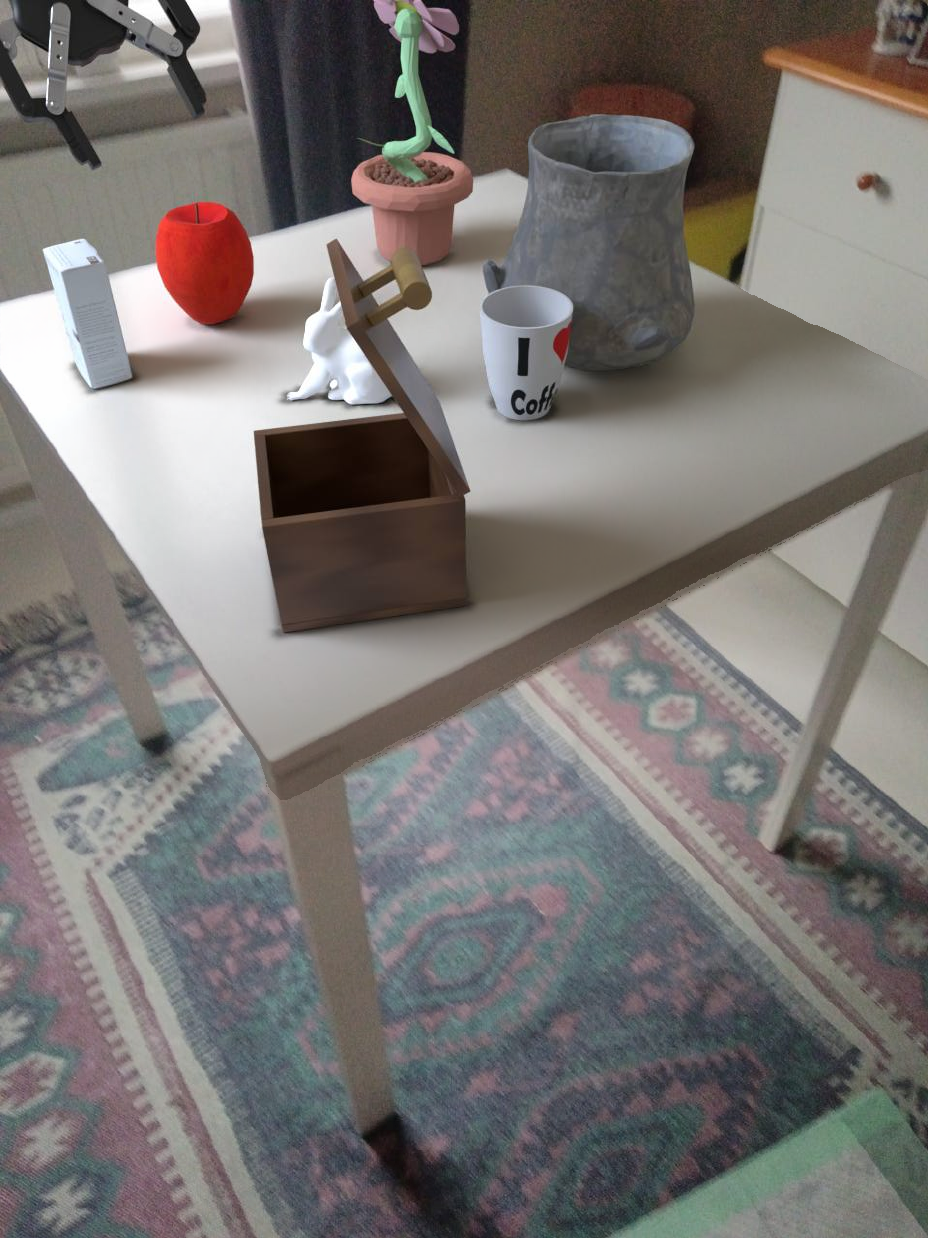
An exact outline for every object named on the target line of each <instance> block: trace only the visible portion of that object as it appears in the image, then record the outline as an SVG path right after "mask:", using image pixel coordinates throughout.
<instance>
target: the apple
mask: <svg viewBox="0 0 928 1238" xmlns="http://www.w3.org/2000/svg"><path fill="white" fill-rule="evenodd" d="M158 223H159V224H158V226H157V227H158V228H157V231H156V238H155V260H156V268H157V272H158V273H159V276H160V280H161V281H162V284H163V286H164V288H165V290H166V291H167V292H168V294H169V295H170V297H171V298H172V299H173V301H174V302H175V303H176V304H177V305H178V307H179V308H180V309H181V310H183V312H185V313H186V315H187V316H189V318H190V319H192V320H193V321H195V322H196V323H199V324H203V325H215V324H219V323H223V322H225V321H228V320H230V319H232V318H233V317H234V316H236V315H237V313H238V312H239V311H240V309H241V308H242V307H243V305H244V302H245V301H246V298H247V295H248V294H249V291H250V289H251V287H252V284H253V279H254V275H255V259H254V258H255V257H254V252H253V248H252V242H251V240H250V237H249V235H248V233H247V230H246V229H245V227H244V226H243V224H242V222H241V221H240V219H239V217H238V216H237V215H236V213H235V211H233V210H231V209H229V208H228V207H226V205H223V204H221V203H218V202H213V201H197V202H193V203H189V204H185V205H180V206H176V207H175V208H173V209H170V210H168V212H167V213H165V214H164V216H163V217H162V219H160V222H158Z"/></svg>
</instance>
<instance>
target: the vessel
mask: <svg viewBox="0 0 928 1238" xmlns="http://www.w3.org/2000/svg"><path fill="white" fill-rule="evenodd" d="M694 150H695V142H694V139H693V138H692V136H691V134H690V133H689V132H688V131H687V130H686V129H685V128H684V127H682V126H680V125H678V124H676V123H673V122H670V121H668V120H665V119H660V118H652V117H646V116H642V115H631V114H629V115H628V114H624V115H623V114H602V113H600V114H591V115H589V116H586V115H582V116H578V117H574V118H569V119H565V120H559V121H553V122H548V123H545V124H541V125H540V126H538V127H536V128H535V129H534V130H533V132H532V133H531V135H530V136H529V137H528V142H527V152H528V153H527V154H528V180H527V190H526V195H525V199H524V204H523V208H522V214H521V216H520V218H519V222H518V225H517V227H516V231H515V234H514V236H513V239H512V241H511V245H510V248H509V250H508V252H507V255H506V258H505V259H504V261H503V262H502V264H501V265H499V266H498V265H497V264H496V262H494V260H491V259H486V260H484V262H483V265H482V274H483V278H484V283H485V288H486V290H487V293H488V294H490V293H492V292H494V291H496V290H499V289H502V288H506V287H511V286H523V285H529V286H540V287H546V288H550V289H553V290H556V291H558V292H561V293H562V294H564V295H566V296H567V297H568V298H569V299H570V300H571V302H572V304H573V314H572V321H571V329H570V337H569V344H568V352H567V356H566V360H565V364H564V367H572V368H576V369H580V370H585V371H614V370H623V369H631V368H632V369H633V368H635V367H640V366H643V365H646V364H649V363H652V362H655V361H656V360H659V359H661V358H663V357H664V356H665V357H666V355H668V354H671V352H673V351H674V350H675V349H677V348H678V347H679V346H680V345H682V344H683V342H684V341H686V339H687V337H688V336H689V334H690V332H691V330H692V328H693V323H694V320H695V306H696V305H695V292H694V286H693V278H692V272H691V271H692V270H691V266H690V261H689V254H688V250H687V243H686V236H685V229H684V227H685V226H684V219H685V218H684V197H685V196H684V194H685V185H686V179H687V173H688V168H689V165H690V163H691V159H692V157H693V154H694Z"/></svg>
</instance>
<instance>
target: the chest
mask: <svg viewBox="0 0 928 1238" xmlns="http://www.w3.org/2000/svg"><path fill="white" fill-rule="evenodd" d="M253 443H254V452H255V463H256V465H255V466H256V476H257V487H258V498H259V499H258V500H259V509H260V520H261V529H262V535H263V539H264V544H265V550H266V555H267V561H268V565H269V570H270V576H271V580H272V586H273V590H274V595H275V600H276V606H277V610H278V615H279V621H280V624H281V630H282V633H291V632H297V631H303V630H309V629H317V628H325V627H331V626H338V625H344V624H345V625H346V624H352V623H358V622H364V621H371V620H379V619H385V618H392V617H397V616H406V615H413V614H419V613H426V612H432V611H439V610H446V609H453V608H460V607H466V606H467V605H468V598H467V597H468V596H467V595H468V593H467V592H468V590H467V586H468V585H467V583H468V581H467V580H468V579H467V578H468V577H467V514H466V513H467V510H466V509H467V508H466V507H467V506H466V501H467V500H466V497H465V495H463V496H461V497H460V496H459V494H458V493H457V491H456V490H455V488H454V487H453V485H452V484H451V482H450V481H449V479H448V478H447V476H446V475H445V473H444V472H443V470H442V469H441V467H440V466H439V464H438V463H437V461H436V460H435V459H434V457H433V456H432V454H431V453H430V451H429V450H428V448H427V447H426V445H425V444H424V442H423V441H422V439H421V438H420V436H419V435H418V433H417V432H416V430H415V429H414V427H413V426H412V424H411V423H410V421H409V420H408V418H407V417H406V416H405V414H404V413H403V412H399V413H398V412H397V413H391V414H381V415H373V416H366V417H357V418H347V419H339V420H333V421H332V420H331V421H322V422H315V423H306V424H298V425H290V426H289V425H288V426H281V427H280V426H279V427H273V428H264V429H256V430H253Z"/></svg>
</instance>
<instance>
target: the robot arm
mask: <svg viewBox="0 0 928 1238" xmlns="http://www.w3.org/2000/svg"><path fill="white" fill-rule="evenodd" d="M7 1H8V3H9V6H10V7H11V11H12V17H11V18H9V19H6V20H4V21H1V22H0V83H1V85H2V87H3V88H4V90H5V91H6V94H7V96H8V98H9V100H10V101H11V103H12V106H13V107H14V109H15V110H16V112H17V115H18V116H19V118H20V119H21V120H22V121H23V122H25V123H26V124H27V123H34V122H40V121H42V122H44V121H46V122H49V123H51V124H52V125H53V126H54V127H55V128H56V130H57V131H58V133H59V135H60V137H61V139H62V140H63V142H64V143H65V145H66V147H67V148H68V150H69V152H70V154H71V155H72V157H73V159H74V161H76V162H77V163H78V164H79V165H81V166H84V165H86V164H87V165H88V166H89V168H90V170H92V171H95V170H97V169H99V168H101V167H102V166H103V163H102V160H101V159H100V157H99V155H98V154H97V152H96V150H95V148H94V147H93V144H92V143H91V142H90V140H89V138H88V137H87V135H86V133H85V131H84V129H83V128H82V126H81V125H80V122H79V121H78V119H77V118H76V116H75V114H74V113H73V110H70V111H69V109H68V108H67V107H66V101H67V100H66V98H67V82H68V67H69V65H70V66H73V67H80V68H83V67H85V66H88V65H90V64H91V63H92V62H94V61H95V60H96V59H97V58H98V57H99V56H101V55H108V54H112V53H114V52H116V51H118V50H120V49H121V46H122V45H123V44H124V42H125V41H126V42H127V43H130V44H131V45H133V46H134V47H136V48H138V49H140V50H143V51H147V52H148V53H150V54H152V55H154V56H155V57H157V58H158V59H160V60H162V61H164V62H165V63H166V64H167V69H166V71H167V73H168V75H169V77H170V79H171V80H172V82H173V85H174V86H175V88H176V90H177V92H178V94H179V96H180V97H181V99H182V101H183V104H184V106H185V107H186V109H187V111H188V113H189V115H191V118H192V119H193V120H197V119H199V118H201V117H203V116H204V114H205V112H206V110H205V107H204V106H205V104H206V103H207V95H206V92H205V90H204V88H203V86H202V83H201V82H200V80H199V78H198V76H197V75H196V73H195V71H194V69H193V66H192V64H191V63H190V61H189V59H188V55H187V51H188V50H189V49H190V47H192V45H193V44H195V42H196V41H197V38H198V36H199V34H200V33H201V24H200V23H199V21H198V20H197V18H196V16H195V14H194V12H193V11H192V9H191V7H190V6H189V4H188V2H187V0H157V2H158V4H159V5H160V7H161V8H162V10H163V12H164V13H165V16H166V17H167V19H168V21H169V22H170V24H171V26H172V27H173V29H174V31H175V32H174V33H173V34H170V33H168V32H167V31H165V30H163V29H162V28H160V27H158V26H157V25H155V24H154V22H153V21H151V20H150V19H149V18H147V17H145V16H144V15H142V14H141V13H138V12H137V11H136V10H134V9H132V8H131V7H130V6H129V4H130V3H129V2H130V1H129V0H7ZM19 37H21V38H23V39H24V40H25V41H27V42H29V43H31V44H33V45H34V46H36V47H38V48H39V49H40V50H42V51H45V52H46V53H48V61H47V62H48V63H47V64H48V65H47V83H46V97H33V98H32V96H31V94H30V92H29V90H28V88H27V86H26V84H25V82H24V80H23V79H22V77H21V75H20V73H19V70H17V68H16V66H15V64H14V62H13V60H15V59H16V58H17V56H18V46H17V44H16V42H17V38H19Z"/></svg>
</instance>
